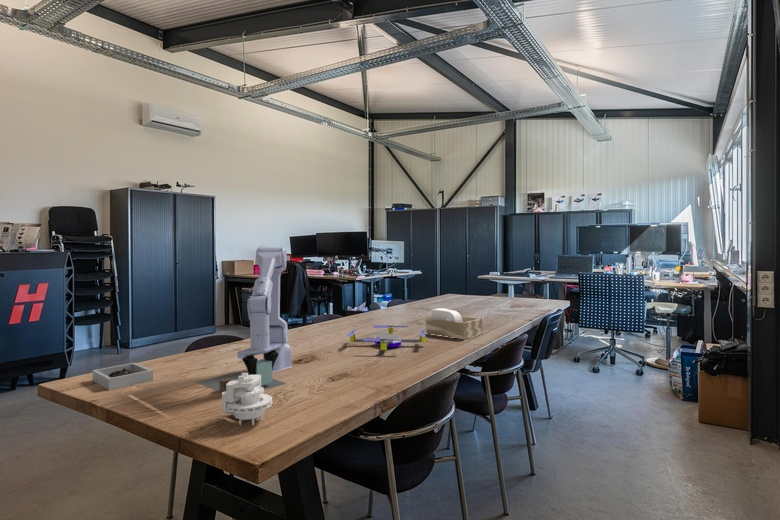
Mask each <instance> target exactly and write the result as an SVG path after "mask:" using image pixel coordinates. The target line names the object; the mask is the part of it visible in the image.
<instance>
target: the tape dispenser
mask: <svg viewBox="0 0 780 520" xmlns="http://www.w3.org/2000/svg"><path fill="white" fill-rule="evenodd" d="M461 316H462V315H461V313H459V312H458V311H456V310H454V309H450V308H443V307H439V308H438V307H437V308H432V309H431V318H432V319H436V320H444V321H453V322H461V323H463V322H462V317H463V316H462V317H461Z"/></svg>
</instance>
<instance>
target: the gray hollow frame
mask: <svg viewBox="0 0 780 520" xmlns="http://www.w3.org/2000/svg"><path fill="white" fill-rule="evenodd" d="M123 369H126V370H127V371H130V372H131V373H130V374H128V375H123V376H118V377H113V378H111V377H109V375H110V374H111V373H112V372H115V371H122V370H123ZM153 381H154V369H151V368H149V367H147V366H144V365H141V364H139V363H136V362H132V363H131V362H130V363H125V364H119V365H114V366H109V367H103V368H98V369H94V370H93V369H92V382H94V383H96V384H98V385H99V386H101V387H102V388H104V389H106V390H108V391H112V390H117V389H121V388H125V387H131V386H134V385H139V384H145V383H149V382H153Z"/></svg>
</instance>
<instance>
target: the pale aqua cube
mask: <svg viewBox="0 0 780 520" xmlns="http://www.w3.org/2000/svg"><path fill="white" fill-rule="evenodd" d="M248 375H249V373H248ZM256 375H261V385H264V384H267V383H271V382H273V381H272V379H273V372H272V361H269V360H265V359H263V358H260V359H258V360H257V364H256Z"/></svg>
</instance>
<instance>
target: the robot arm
mask: <svg viewBox="0 0 780 520" xmlns="http://www.w3.org/2000/svg"><path fill="white" fill-rule="evenodd" d="M255 261H256V264H257V265H258V267H259V277H258V278H256V279H255V280H254V284H253V288H252V289H253V290H252V292H251V293H252V294H251V296H250V297H248V299H247V303H246V304H247V306H246V307H247V313H248V320H249V326H250V327H249V328H250V329H249V331H250V347H248V348H246V349H243V350H240V351H236V352H237V354H236V355H237V359H240V360H242V362H243V363H244V365H245V366H246V370H247V371H248V373H249V375H256V364H257V360H259V359H258V358H256V357H255V356H259V355H262V356H263V357H262V359H265V360H269V361H272V373H274V372H278V371H279V372H280V371H282V370H283V371H284V370H286V369H290V368H293V366H292V350H291V346H290V344H289V343H287V342H288V340H289V329H288V322H287V321H286V320H284V319H283V318H282V317H281V314H280V313H281V312H280V311H281V310H280V309H281V308H280V307H281V302H280V301H281V276H282V272H284V271H286V268H287V249H286V248H285V247H284V246H282V247H279V246H278V247H259V246H258V248H256V251H255Z"/></svg>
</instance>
